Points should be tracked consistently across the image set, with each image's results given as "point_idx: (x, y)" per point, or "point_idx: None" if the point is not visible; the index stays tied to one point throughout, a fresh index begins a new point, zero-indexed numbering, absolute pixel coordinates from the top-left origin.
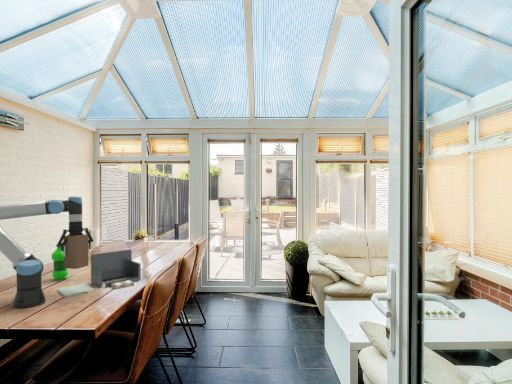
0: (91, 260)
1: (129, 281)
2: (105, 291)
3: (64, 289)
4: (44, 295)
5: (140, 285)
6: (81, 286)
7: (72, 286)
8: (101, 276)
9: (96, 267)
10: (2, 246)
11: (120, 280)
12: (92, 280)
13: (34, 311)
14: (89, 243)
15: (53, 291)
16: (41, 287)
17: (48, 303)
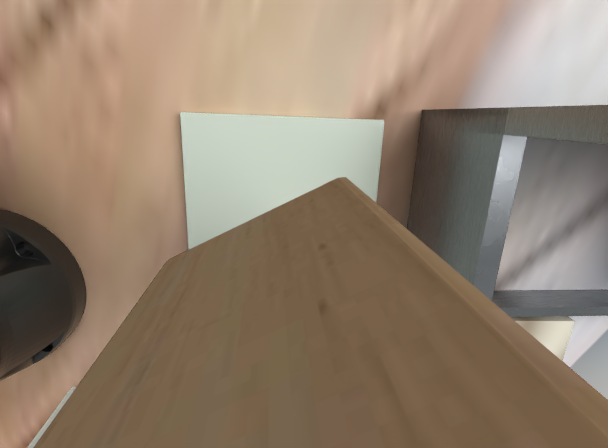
0: (560, 130)
1: (554, 350)
2: None
3: (220, 169)
4: (62, 320)
5: (572, 359)
6: (332, 178)
7: (287, 128)
8: None
9: (510, 212)
10: None
11: (533, 310)
12: (432, 142)
13: (26, 423)
14: None
15: (160, 106)
16: (4, 358)
17: (98, 349)
